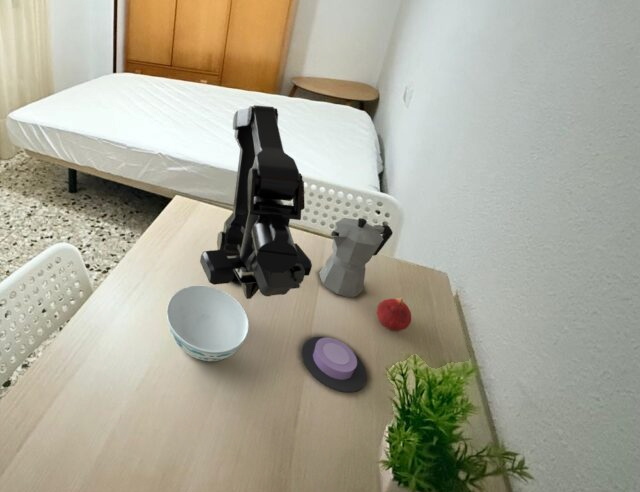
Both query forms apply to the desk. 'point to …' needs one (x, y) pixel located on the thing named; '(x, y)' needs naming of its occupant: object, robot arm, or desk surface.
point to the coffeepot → (352, 254)
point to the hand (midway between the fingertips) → (247, 297)
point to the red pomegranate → (394, 314)
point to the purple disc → (334, 358)
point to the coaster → (340, 385)
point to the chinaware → (207, 322)
